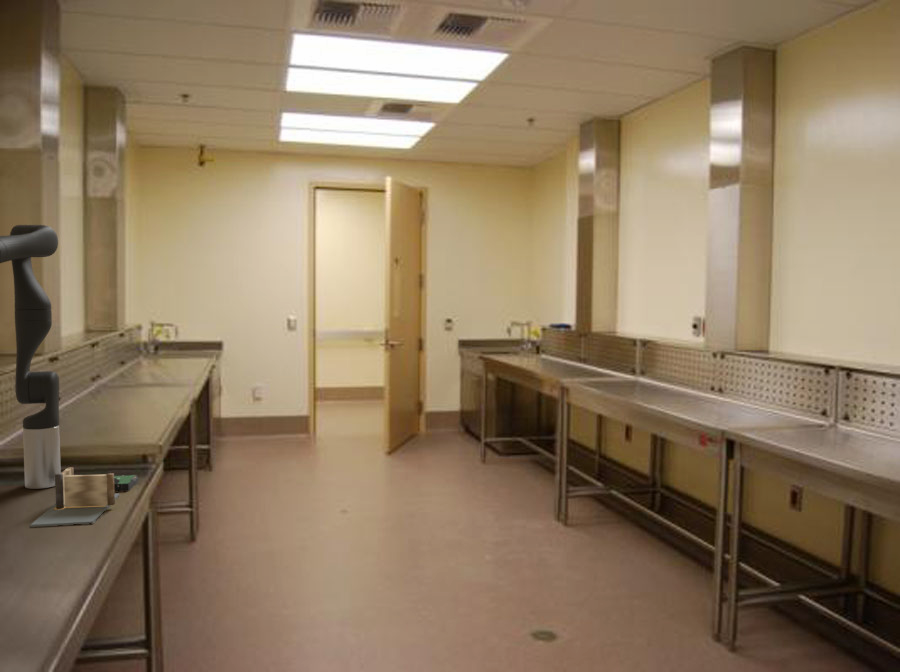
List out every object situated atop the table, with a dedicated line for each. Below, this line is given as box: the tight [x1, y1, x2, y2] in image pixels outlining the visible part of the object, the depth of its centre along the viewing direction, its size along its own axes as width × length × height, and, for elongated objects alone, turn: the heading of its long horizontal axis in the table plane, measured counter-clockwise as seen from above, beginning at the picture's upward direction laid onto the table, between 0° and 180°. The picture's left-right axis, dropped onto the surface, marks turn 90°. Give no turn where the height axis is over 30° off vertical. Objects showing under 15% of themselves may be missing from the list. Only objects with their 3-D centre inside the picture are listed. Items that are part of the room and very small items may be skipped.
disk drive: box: [114, 474, 139, 492], centre depth 210 cm, size 10×3×15 cm
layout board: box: [29, 492, 120, 528], centre depth 189 cm, size 25×14×1 cm, turn 11°
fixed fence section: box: [54, 466, 75, 509], centre depth 192 cm, size 10×2×10 cm, turn 11°
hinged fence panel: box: [64, 472, 116, 507], centre depth 189 cm, size 12×2×8 cm, turn 97°
